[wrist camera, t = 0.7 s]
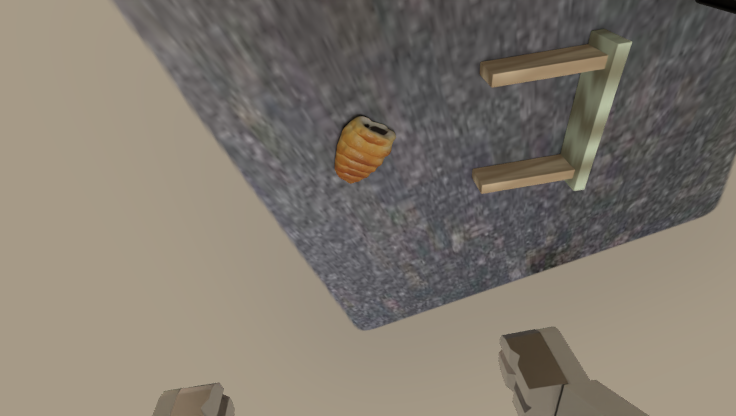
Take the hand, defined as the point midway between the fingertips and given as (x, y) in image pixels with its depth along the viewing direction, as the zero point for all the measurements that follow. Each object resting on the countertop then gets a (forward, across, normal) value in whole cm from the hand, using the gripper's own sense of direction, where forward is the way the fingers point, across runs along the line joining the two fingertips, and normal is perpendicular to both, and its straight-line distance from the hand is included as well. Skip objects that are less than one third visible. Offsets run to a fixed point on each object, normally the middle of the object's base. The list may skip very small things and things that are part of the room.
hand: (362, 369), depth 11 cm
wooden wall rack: (+40, -23, +11) cm, 47 cm away
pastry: (+40, -1, +11) cm, 41 cm away
